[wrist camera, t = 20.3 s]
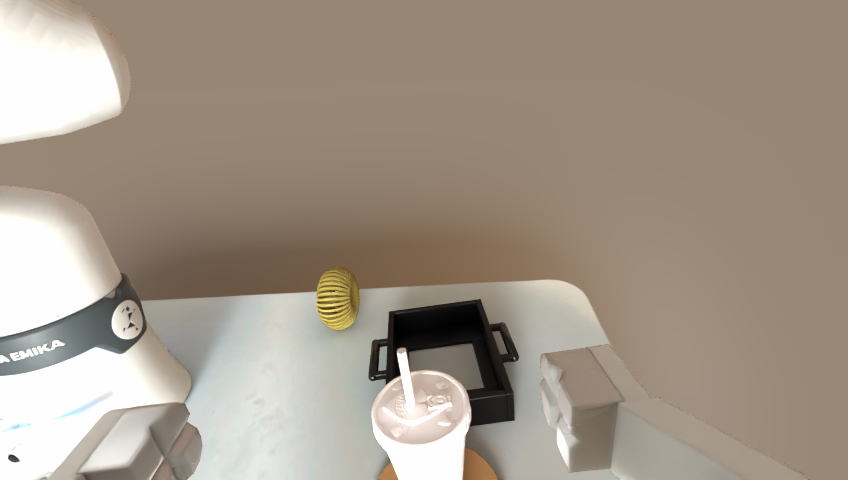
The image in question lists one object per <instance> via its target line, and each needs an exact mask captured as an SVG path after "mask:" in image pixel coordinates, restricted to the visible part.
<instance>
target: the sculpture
mask: <svg viewBox="0 0 848 480" xmlns="http://www.w3.org/2000/svg"><path fill="white" fill-rule="evenodd" d="M334 276H335V277H334ZM339 282H340V283H339ZM344 284H345V285H344ZM337 286H340V287H337ZM337 290H338V291H340V292H335V291H337ZM343 292H344V293H343ZM317 298H318V299H317V301H318V302H317V307H318V312H319V314H320V317H321V319H322V321H323V322H324V323H325V324H326V325H327V326H328V327H329V328H332V329H335V330H342V329H345V328H347V327H349V326H350V325H351V324H352V323H353V322H354V321H355V319H356V317H357V314H358V310H359V301H360V298H359V288H358V284H357V281H356V278H355V276H354V275H353V274H352V273H351V271H349V270H348V269H346V268H344V267H333V268H331V269H329V270H327V271H326V272H325V273H324V274H323V276H322V278H321V279H320V281H319V284H318V288H317ZM341 301H342V302H341ZM333 302H334V303H333ZM335 302H337V303H335ZM346 303H347V304H346ZM343 304H345V305H343ZM334 306H336V307H338V308H335V307H334ZM337 311H338V312H337ZM340 320H341V321H340Z"/></svg>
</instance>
